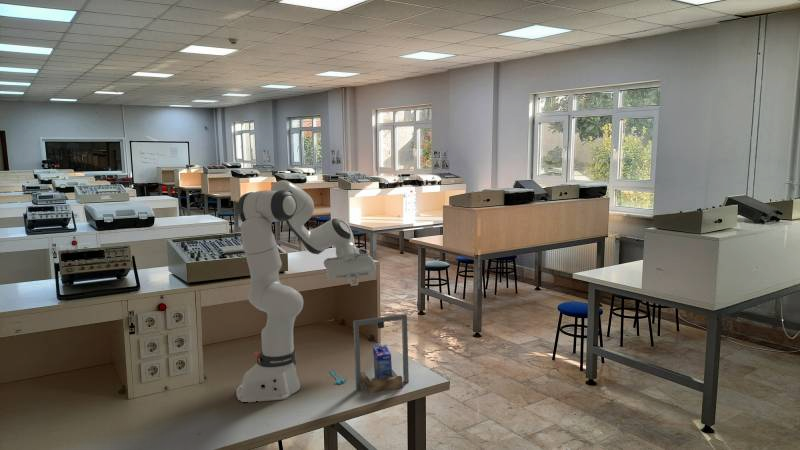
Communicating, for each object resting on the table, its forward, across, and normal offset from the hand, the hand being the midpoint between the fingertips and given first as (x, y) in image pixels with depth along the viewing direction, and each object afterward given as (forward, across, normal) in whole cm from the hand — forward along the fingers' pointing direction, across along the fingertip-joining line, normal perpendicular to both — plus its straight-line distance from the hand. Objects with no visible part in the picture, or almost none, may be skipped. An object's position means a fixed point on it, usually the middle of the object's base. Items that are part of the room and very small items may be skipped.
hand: (354, 284), depth 221 cm
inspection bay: (+39, +2, +5) cm, 40 cm away
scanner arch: (+42, +2, +3) cm, 42 cm away
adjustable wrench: (+32, -12, +13) cm, 37 cm away
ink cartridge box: (+39, +3, +5) cm, 40 cm away
